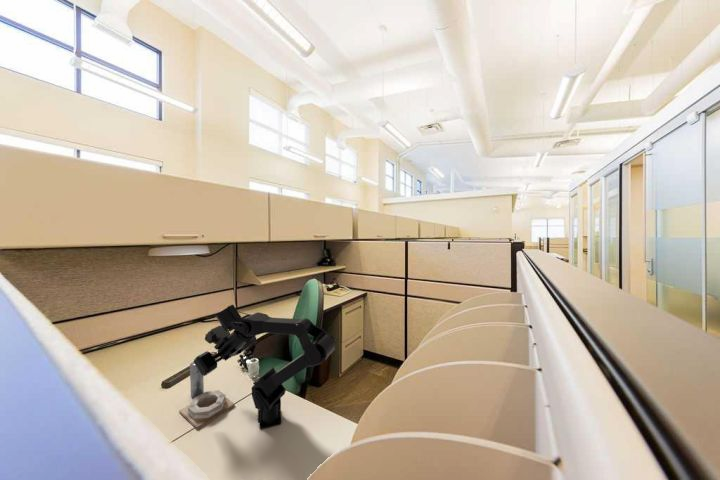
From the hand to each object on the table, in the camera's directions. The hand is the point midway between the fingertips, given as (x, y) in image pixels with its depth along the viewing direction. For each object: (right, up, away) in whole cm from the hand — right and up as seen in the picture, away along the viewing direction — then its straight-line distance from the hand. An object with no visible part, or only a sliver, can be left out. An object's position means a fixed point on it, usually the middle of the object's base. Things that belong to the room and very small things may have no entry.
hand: (211, 364), depth 89 cm
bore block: (0, -13, -3) cm, 14 cm away
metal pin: (-7, -13, +3) cm, 15 cm away
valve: (+6, -12, +18) cm, 23 cm away
